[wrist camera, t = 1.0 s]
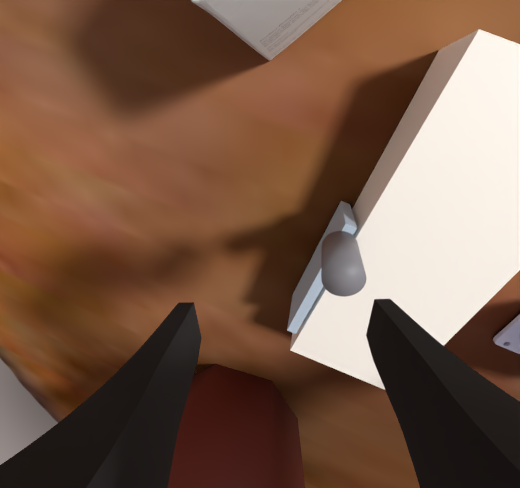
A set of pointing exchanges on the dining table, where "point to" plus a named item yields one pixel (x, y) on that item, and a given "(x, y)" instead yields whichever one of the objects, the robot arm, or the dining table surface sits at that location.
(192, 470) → the bucket
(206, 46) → the dining table surface
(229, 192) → the dining table surface
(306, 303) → the flap
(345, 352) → the carton
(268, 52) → the supplement box
